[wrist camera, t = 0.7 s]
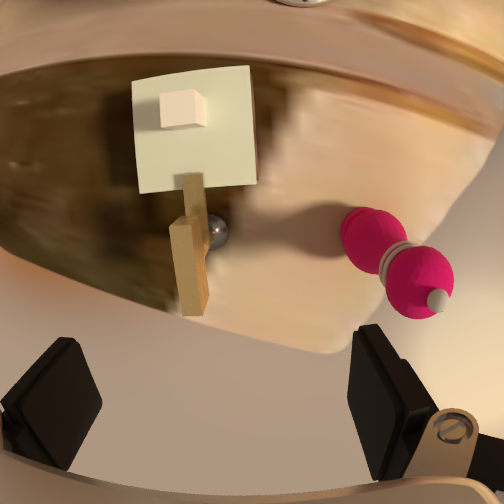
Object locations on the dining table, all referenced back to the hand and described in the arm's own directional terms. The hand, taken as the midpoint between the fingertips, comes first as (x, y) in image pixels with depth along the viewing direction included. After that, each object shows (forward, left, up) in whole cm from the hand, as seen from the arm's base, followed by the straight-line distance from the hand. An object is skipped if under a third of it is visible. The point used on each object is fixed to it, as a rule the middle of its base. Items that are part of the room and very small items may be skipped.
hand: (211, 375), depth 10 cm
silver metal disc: (+3, -5, -29) cm, 30 cm away
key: (+1, -5, -28) cm, 29 cm away
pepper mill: (+4, +14, -30) cm, 33 cm away
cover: (-9, -5, -24) cm, 27 cm away
